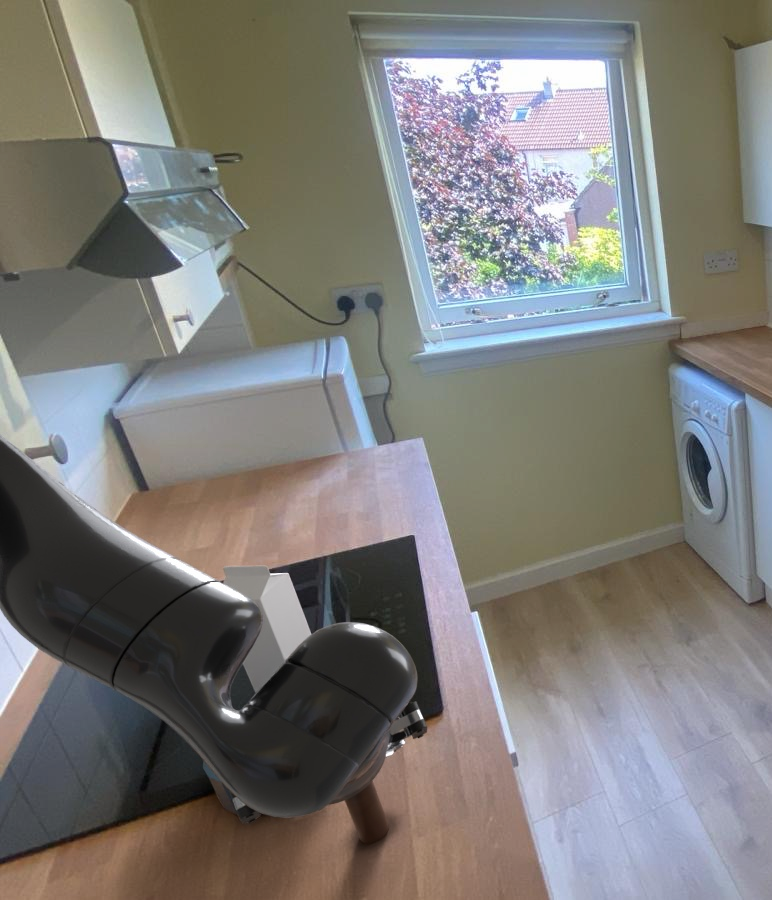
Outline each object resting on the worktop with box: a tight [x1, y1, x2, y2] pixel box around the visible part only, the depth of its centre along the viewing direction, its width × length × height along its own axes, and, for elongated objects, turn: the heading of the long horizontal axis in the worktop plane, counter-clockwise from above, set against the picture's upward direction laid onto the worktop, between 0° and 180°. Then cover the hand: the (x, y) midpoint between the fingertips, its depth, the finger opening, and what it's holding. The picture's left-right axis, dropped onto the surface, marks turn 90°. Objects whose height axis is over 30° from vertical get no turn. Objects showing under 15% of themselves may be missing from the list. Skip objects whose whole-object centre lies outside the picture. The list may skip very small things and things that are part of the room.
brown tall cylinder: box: [344, 780, 390, 844], centre depth 83 cm, size 3×3×10 cm
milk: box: [222, 565, 312, 694], centre depth 101 cm, size 6×6×22 cm
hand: (337, 767), depth 68 cm, fingers open, 8 cm apart
